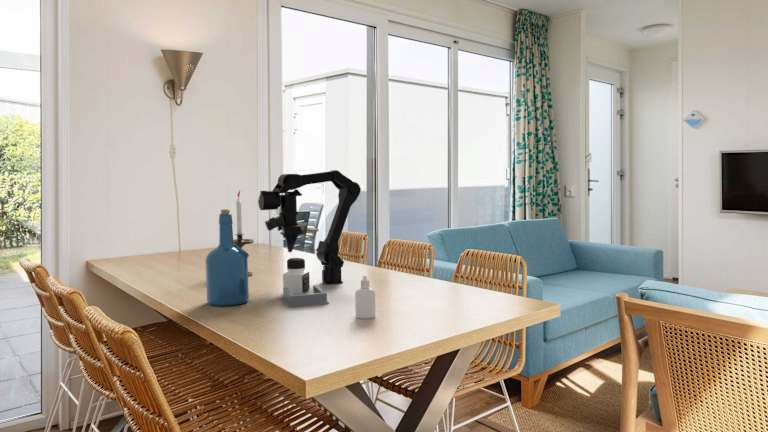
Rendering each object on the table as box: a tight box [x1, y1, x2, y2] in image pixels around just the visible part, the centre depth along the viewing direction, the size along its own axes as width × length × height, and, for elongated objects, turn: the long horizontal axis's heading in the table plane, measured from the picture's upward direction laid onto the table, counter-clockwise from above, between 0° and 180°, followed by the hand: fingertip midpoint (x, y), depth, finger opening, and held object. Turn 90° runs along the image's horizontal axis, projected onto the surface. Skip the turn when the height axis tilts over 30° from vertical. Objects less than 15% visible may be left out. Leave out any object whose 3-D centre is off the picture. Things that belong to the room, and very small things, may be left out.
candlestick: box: [233, 189, 254, 278], centre depth 226 cm, size 11×11×35 cm
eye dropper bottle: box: [354, 274, 376, 320], centre depth 157 cm, size 4×6×12 cm
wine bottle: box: [205, 208, 250, 307], centre depth 178 cm, size 14×13×30 cm
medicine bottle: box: [282, 257, 311, 295], centre depth 192 cm, size 7×7×12 cm
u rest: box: [281, 284, 330, 308], centre depth 179 cm, size 14×13×3 cm
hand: (290, 252), depth 200 cm, fingers closed
